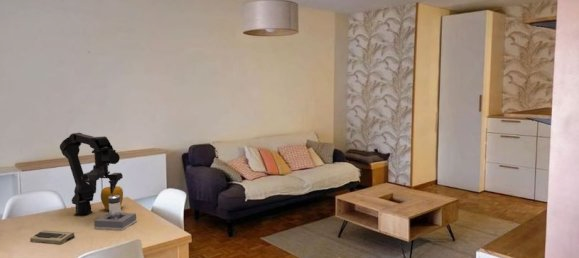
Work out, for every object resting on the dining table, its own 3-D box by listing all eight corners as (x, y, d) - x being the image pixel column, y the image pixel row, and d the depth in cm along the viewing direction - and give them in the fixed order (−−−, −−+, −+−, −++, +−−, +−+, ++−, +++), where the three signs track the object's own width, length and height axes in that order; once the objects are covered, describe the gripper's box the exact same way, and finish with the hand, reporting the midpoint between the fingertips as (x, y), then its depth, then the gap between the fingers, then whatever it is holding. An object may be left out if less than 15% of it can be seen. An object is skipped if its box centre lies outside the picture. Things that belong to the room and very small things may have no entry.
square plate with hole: (94, 228, 190) (94, 220, 190) (109, 220, 202) (109, 212, 201) (122, 230, 188) (122, 221, 187) (136, 221, 200) (135, 213, 199)
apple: (100, 213, 213) (99, 189, 212) (102, 207, 223) (101, 184, 222) (123, 211, 217) (122, 187, 215) (124, 205, 227) (123, 182, 225)
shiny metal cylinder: (109, 225, 192) (107, 198, 190) (110, 221, 196) (108, 195, 195) (121, 224, 193) (119, 197, 192) (122, 220, 198) (120, 194, 196)
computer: (30, 242, 175) (29, 235, 175) (45, 236, 183) (44, 228, 183) (60, 245, 172) (60, 238, 171) (75, 238, 179) (74, 231, 179)
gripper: (73, 165, 195) (75, 197, 196) (109, 165, 192) (111, 198, 194) (87, 160, 206) (90, 191, 207) (122, 161, 203) (124, 192, 205)
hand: (103, 193), depth 203 cm, fingers open, 9 cm apart
